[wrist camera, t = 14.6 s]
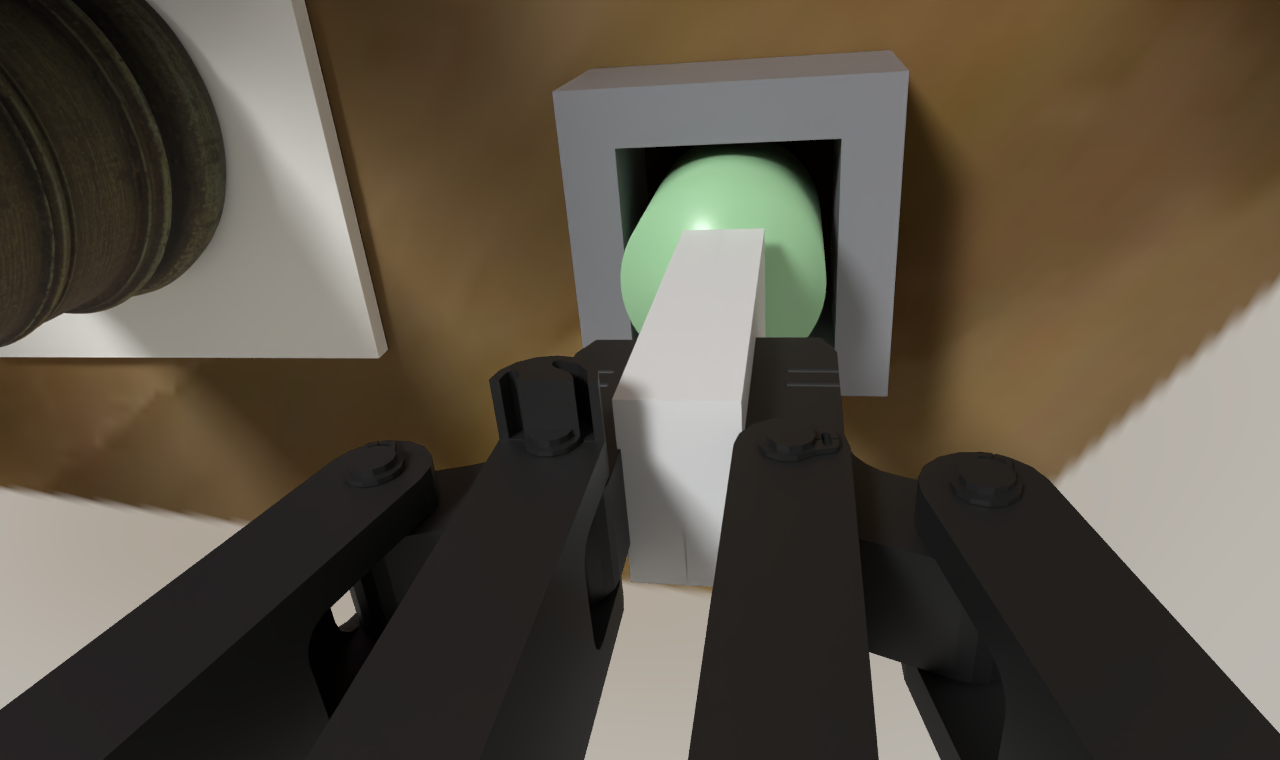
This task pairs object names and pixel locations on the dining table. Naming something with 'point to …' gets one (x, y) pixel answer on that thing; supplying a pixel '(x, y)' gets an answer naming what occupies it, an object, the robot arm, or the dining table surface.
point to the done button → (736, 199)
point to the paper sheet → (251, 213)
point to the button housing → (744, 113)
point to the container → (99, 159)
